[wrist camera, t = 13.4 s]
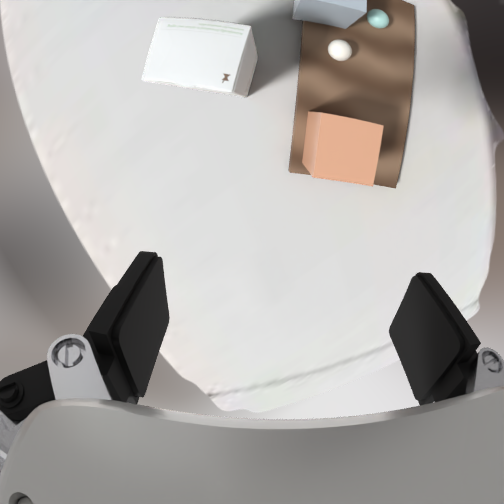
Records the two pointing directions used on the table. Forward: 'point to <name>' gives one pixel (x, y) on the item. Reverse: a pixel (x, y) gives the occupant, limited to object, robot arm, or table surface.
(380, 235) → the table surface
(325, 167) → the peach cube block
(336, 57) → the marble ivory
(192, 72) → the skincare box
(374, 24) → the marble teal
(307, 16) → the pale blue cube
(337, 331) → the table surface
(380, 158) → the walnut board
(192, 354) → the table surface
